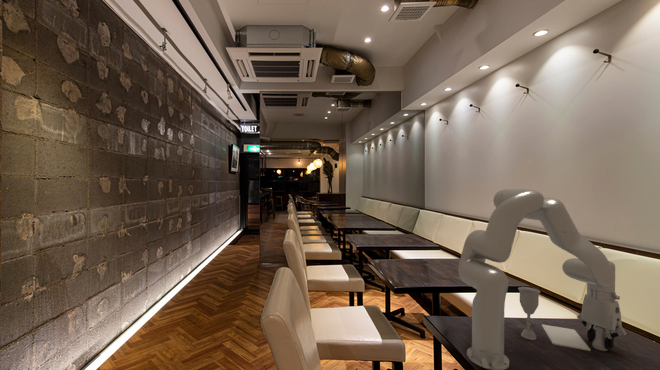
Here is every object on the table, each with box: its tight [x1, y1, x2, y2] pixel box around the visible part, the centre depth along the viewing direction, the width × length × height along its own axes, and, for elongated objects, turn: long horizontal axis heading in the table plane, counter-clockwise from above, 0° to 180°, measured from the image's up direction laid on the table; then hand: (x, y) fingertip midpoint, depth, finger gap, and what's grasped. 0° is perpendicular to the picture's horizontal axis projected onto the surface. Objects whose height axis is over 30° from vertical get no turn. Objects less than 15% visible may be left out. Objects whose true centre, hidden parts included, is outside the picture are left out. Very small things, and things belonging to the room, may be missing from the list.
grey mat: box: [541, 323, 591, 352], centre depth 115 cm, size 16×11×1 cm
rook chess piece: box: [591, 325, 608, 352], centre depth 107 cm, size 4×4×8 cm
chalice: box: [517, 286, 541, 341], centre depth 115 cm, size 7×7×18 cm
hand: (600, 344), depth 107 cm, fingers closed on rook chess piece, 4 cm apart
